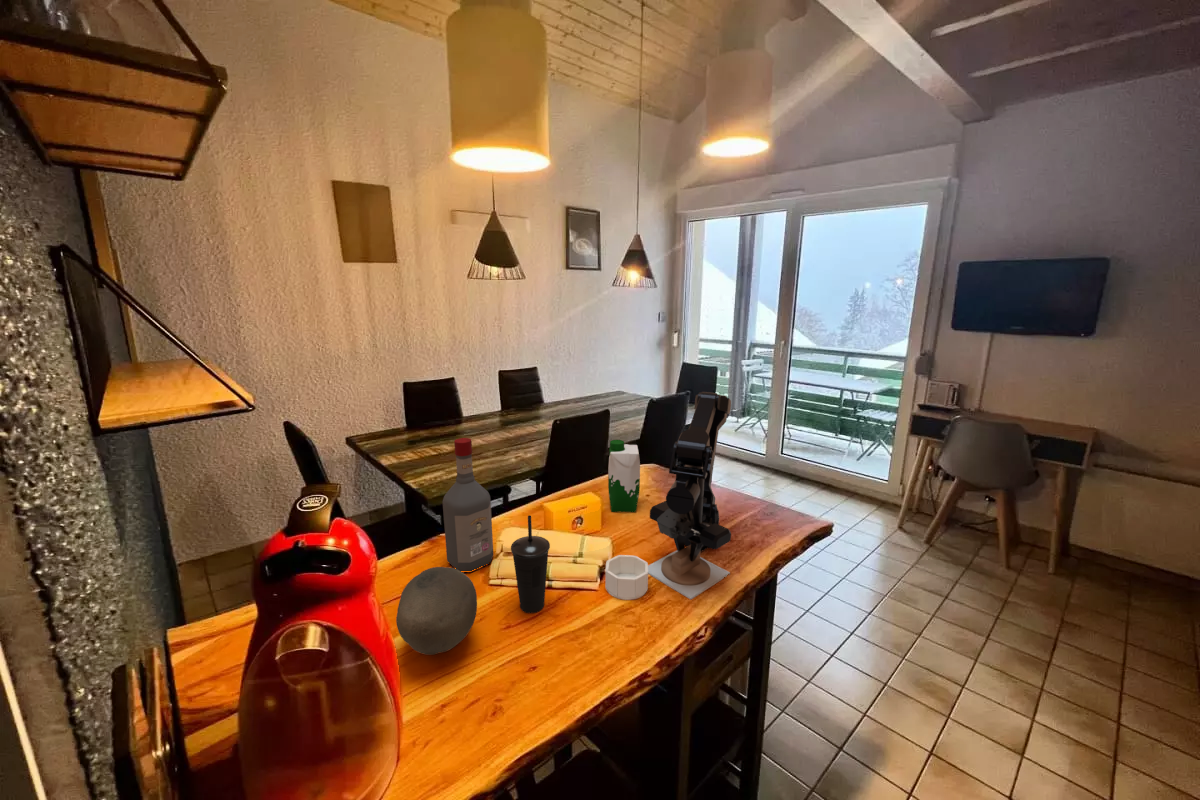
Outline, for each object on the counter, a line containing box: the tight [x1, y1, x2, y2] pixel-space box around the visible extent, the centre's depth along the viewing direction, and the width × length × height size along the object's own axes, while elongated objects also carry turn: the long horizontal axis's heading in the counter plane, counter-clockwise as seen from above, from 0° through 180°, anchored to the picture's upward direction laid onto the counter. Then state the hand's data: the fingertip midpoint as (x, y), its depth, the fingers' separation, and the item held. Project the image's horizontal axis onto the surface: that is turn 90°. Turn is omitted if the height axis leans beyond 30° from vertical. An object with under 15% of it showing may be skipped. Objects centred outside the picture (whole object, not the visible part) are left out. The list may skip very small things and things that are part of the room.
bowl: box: [604, 554, 649, 601], centre depth 106 cm, size 9×9×5 cm
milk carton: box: [607, 439, 641, 513], centre depth 141 cm, size 9×9×20 cm
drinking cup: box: [510, 514, 551, 614], centre depth 98 cm, size 8×8×20 cm
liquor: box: [442, 437, 494, 571], centre depth 112 cm, size 9×9×30 cm
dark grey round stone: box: [395, 566, 478, 656], centre depth 87 cm, size 14×14×15 cm
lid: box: [661, 545, 710, 585], centre depth 111 cm, size 11×11×5 cm
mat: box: [648, 549, 731, 600], centre depth 112 cm, size 14×14×1 cm
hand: (686, 557), depth 111 cm, fingers open, 3 cm apart
